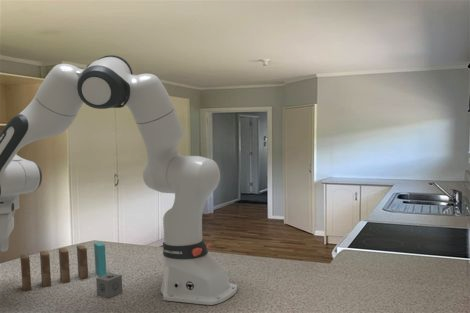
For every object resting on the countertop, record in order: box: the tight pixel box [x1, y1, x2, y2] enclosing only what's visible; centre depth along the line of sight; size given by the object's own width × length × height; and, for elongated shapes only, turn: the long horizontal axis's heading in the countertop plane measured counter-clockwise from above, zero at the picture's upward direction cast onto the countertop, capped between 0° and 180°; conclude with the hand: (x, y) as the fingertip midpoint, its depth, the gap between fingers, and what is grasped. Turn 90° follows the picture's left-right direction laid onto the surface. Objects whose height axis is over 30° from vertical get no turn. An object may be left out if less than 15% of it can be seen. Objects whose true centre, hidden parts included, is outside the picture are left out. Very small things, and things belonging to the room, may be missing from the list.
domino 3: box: [58, 247, 71, 284], centre depth 130 cm, size 2×5×10 cm, turn 30°
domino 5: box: [93, 241, 107, 277], centre depth 136 cm, size 2×5×10 cm, turn 34°
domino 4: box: [76, 244, 89, 281], centre depth 133 cm, size 2×5×10 cm, turn 30°
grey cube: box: [95, 272, 123, 299], centre depth 118 cm, size 5×5×5 cm
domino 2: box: [39, 250, 52, 288], centre depth 128 cm, size 2×5×10 cm, turn 31°
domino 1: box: [19, 253, 32, 292], centre depth 125 cm, size 2×5×10 cm, turn 30°
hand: (4, 250), depth 121 cm, fingers closed
